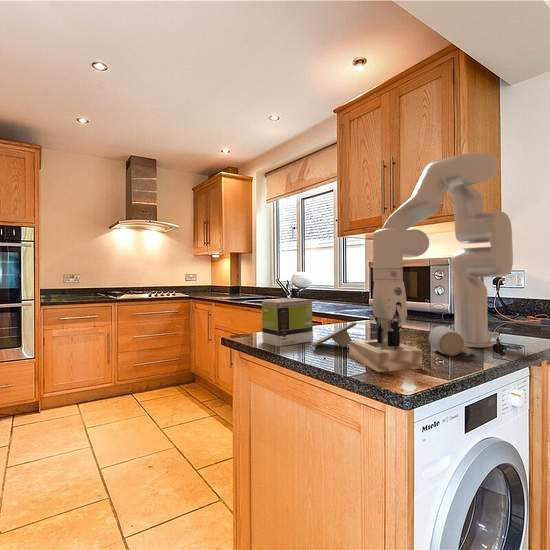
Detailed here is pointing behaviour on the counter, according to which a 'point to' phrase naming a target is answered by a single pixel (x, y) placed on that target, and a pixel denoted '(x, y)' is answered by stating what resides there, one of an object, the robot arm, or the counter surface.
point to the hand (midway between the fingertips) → (388, 343)
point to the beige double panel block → (338, 336)
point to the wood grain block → (385, 335)
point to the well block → (385, 356)
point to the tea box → (287, 321)
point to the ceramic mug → (447, 341)
